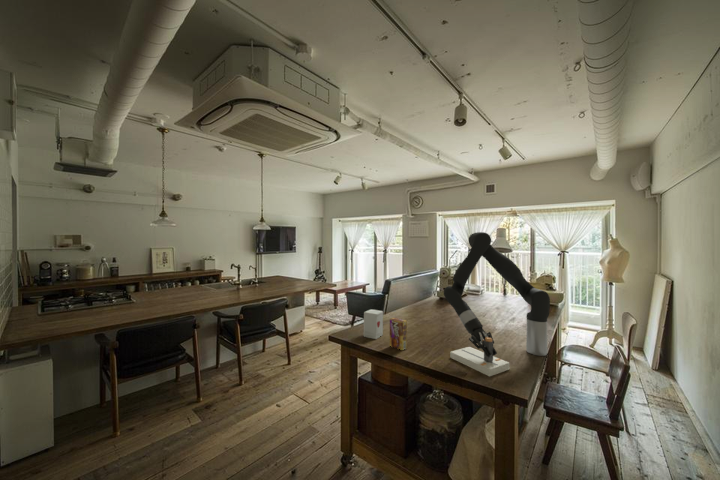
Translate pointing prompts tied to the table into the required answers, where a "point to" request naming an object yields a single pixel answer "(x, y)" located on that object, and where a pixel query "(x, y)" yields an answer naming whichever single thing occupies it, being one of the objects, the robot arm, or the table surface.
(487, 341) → the fader tab
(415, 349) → the table surface
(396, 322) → the candy box
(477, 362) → the console panel
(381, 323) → the supplement box
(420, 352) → the table surface
